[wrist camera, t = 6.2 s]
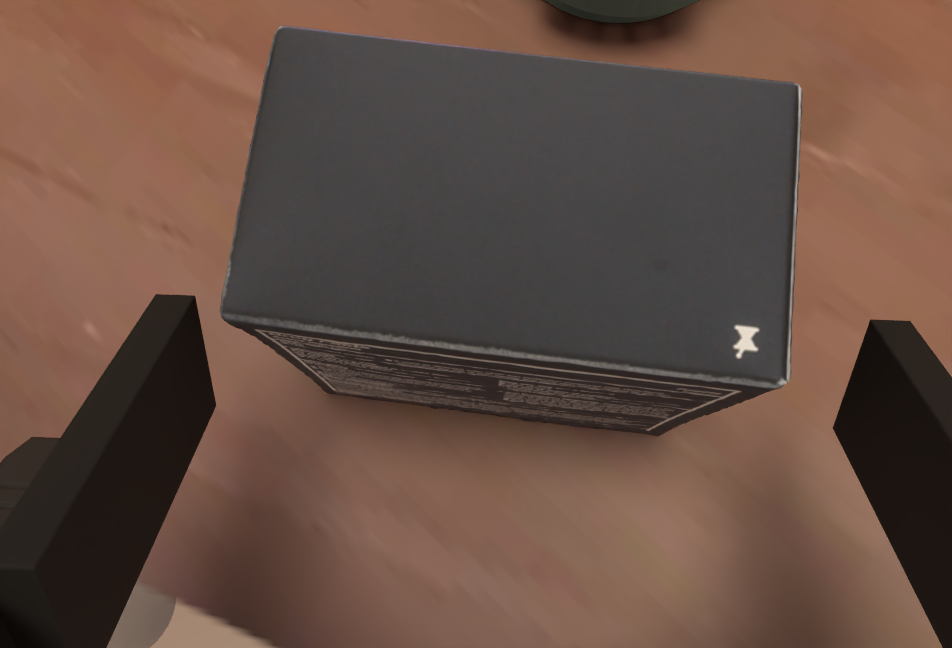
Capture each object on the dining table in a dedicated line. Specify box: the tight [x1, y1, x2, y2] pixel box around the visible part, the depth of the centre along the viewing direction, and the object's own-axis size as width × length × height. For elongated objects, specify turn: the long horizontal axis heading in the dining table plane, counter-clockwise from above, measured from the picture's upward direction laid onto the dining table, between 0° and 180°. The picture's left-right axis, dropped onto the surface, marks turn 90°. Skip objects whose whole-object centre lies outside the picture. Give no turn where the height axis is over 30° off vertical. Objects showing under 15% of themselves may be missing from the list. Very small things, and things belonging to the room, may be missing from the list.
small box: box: [220, 26, 802, 436], centre depth 20 cm, size 11×6×10 cm, turn 83°
